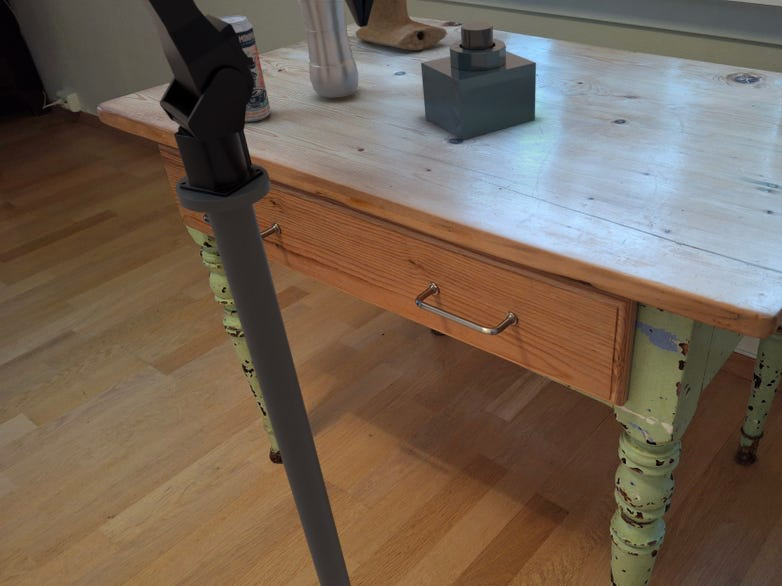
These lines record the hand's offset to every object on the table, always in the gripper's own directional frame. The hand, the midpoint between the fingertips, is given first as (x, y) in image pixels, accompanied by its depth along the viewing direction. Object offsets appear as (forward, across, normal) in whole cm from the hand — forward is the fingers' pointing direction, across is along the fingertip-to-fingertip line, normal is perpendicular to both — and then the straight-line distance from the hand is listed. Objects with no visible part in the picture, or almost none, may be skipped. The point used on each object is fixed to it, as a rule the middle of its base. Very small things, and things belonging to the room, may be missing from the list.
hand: (362, 25), depth 77 cm
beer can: (+13, +10, -18) cm, 24 cm away
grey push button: (+5, -14, +1) cm, 15 cm away
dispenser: (+13, -14, +1) cm, 19 cm away
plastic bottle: (+13, -2, -19) cm, 23 cm away
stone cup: (+14, -20, -37) cm, 45 cm away
